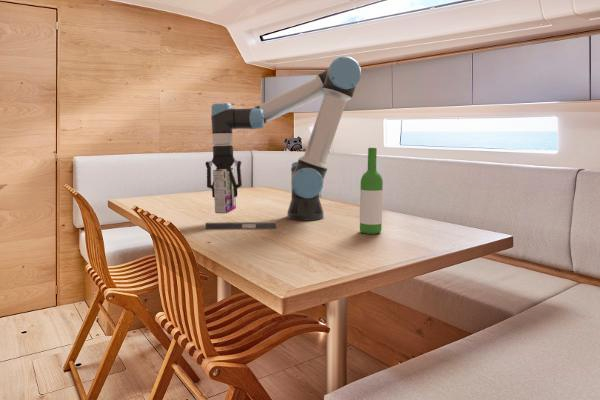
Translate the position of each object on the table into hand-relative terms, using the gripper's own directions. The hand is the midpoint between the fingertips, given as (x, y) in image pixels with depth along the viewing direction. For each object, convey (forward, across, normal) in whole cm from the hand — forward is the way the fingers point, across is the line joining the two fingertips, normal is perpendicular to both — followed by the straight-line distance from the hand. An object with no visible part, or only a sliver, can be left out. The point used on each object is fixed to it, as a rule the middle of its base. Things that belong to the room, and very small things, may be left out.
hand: (225, 205), depth 180 cm
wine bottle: (+9, -53, +17) cm, 56 cm away
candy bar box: (+2, 0, 0) cm, 2 cm away
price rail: (+7, -6, +8) cm, 12 cm away
